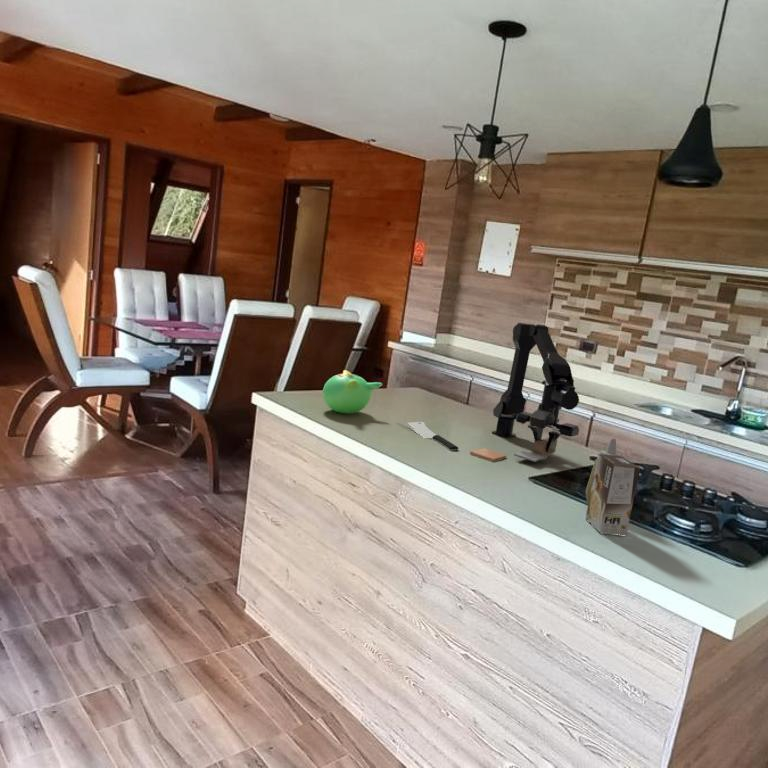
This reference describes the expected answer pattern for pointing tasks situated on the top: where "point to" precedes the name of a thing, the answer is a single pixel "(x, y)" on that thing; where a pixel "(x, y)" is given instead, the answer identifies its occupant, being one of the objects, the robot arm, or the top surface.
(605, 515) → the coffee box
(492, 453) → the tile
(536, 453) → the turner
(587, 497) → the squeeze bottle
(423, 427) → the kitchen cleaver
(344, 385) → the toy bird
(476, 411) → the top surface
